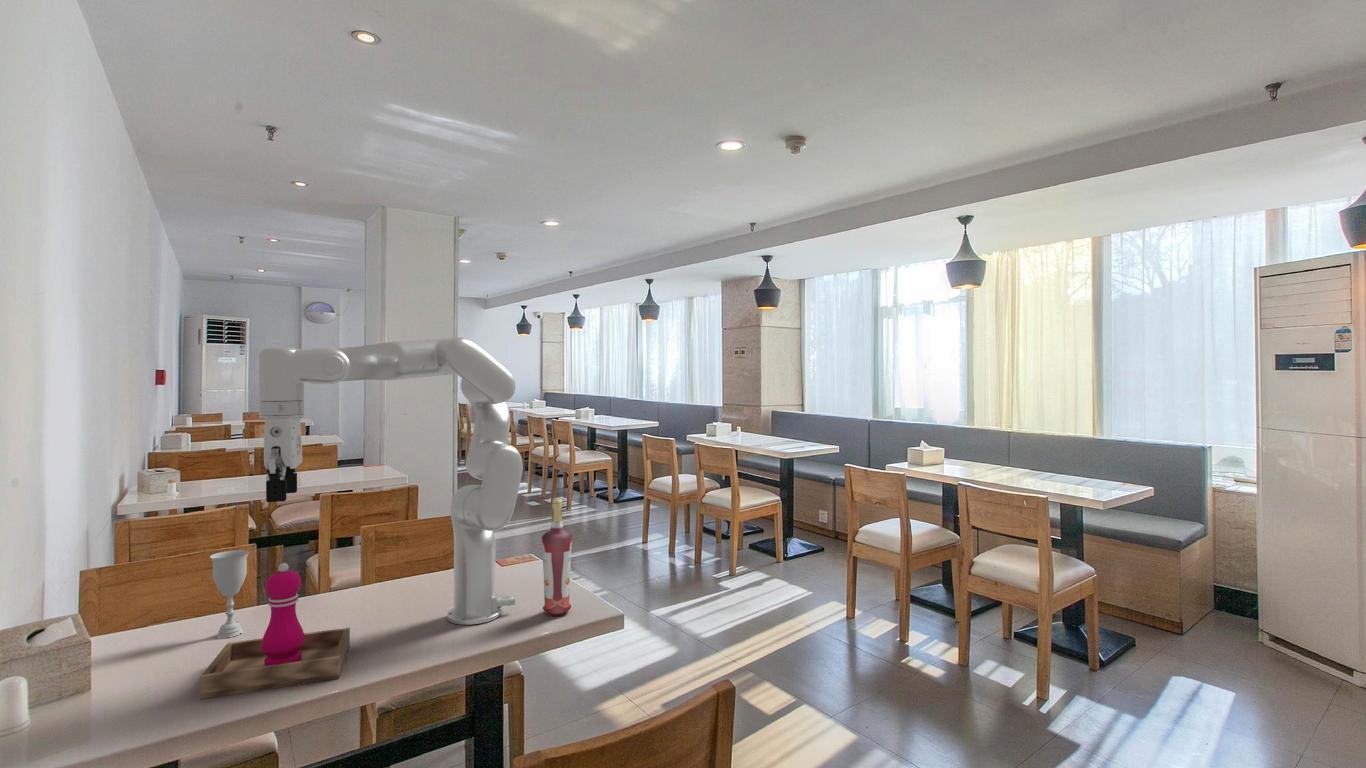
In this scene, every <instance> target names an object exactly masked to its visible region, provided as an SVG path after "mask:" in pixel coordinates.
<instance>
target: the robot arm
mask: <svg viewBox="0 0 1366 768" xmlns="http://www.w3.org/2000/svg"><path fill="white" fill-rule="evenodd" d="M449 375H458V377H460V378H461V380H460V390H461V392H462V394H463V396H464V398H465V399H466V400H467V401H468V402H469V404H470V405H471V408H472V410H473V413H474V425H473V429H472V430H473V431H472V435H471V439H470V444H469V446H468V447H469V448H468V453H467V456H466V462H465V470H466V471H467V473H468V474H469V475H470V476H471V477H472V478H474V479H477V480H480V481H481V485H479V484H468V485H465V486H462V487H461V488H459V489H457V491H456V492H455V493H454V494H453V496H452V498H451V501H450V502H451V503H450V518H451V524H452V530H453V608H451V609H450V610H449V611H447V613H446V617H447V618H446V619H447V620H448V622H450V623H452V624H455V625H463V626H464V625H465V626H466V625H467V626H469V625H470V626H471V625H472V626H473V625H478V624H479V625H480V624H485V623H488V622H491V621H493V620H495V619H497V618H499V617H500V616H501V615H502V612H503V607H504V606H515V605H516V598H515V596H511V597H509V595H503V596H499V595H497V592H496V591H497V590H496V536H495V534H496V533H495V532H497V531H499V530H501V529H504V527H506V525H507V524H509V522H510V520H511V519H512V516H513V514H514V511H515V509H516V505H517V504H516V503H517V499H518V495H519V490H520V485H521V481H522V478H523V471H524V470H523V468H524V465H523V458H522V456H521V453H520V451H519V450H518V449H517V448H516V447H515V446H513V445H511V444H508V440H509V435H510V429H511V413H510V412H511V411H510V408H509V406H508V403H507V402H508V401H509V400H511V399H512V398H513V396H514V394H515V391H516V382H515V378H514V376H513V375H512V373H511V372H510V371H509V370H508V369H507V368H506V367H505V366H503V365H502V364H501V363H500V362H498V361H497V360H496V359H495V358H494V357H493V356H491V355H490V354H489V353H488V352H487V351H485V350H484V349H483V348H481V346H479V345H478V344H477V343H475V342H474V341H472V340H470V339H468V338H466V337H449V338H435V339H433V338H431V339H418V340H417V339H415V340H399V341H397V340H396V341H394V340H393V341H385V342H380V343H379V342H378V343H374V344H373V343H372V344H367V345H361V346H348V347H347V346H346V347H345V346H344V347H326V346H325V347H318V348H297V347H282V346H279V347H277V346H272V347H271V346H270V347H269V346H268V347H263V348H262V349H260V351H259V352H258V419H264V428H263V430H264V433H263V435H264V436H263V462H264V463H263V464H264V468H265V469H266V477H265V478H266V479H265V480H266V482H265V488H266V489H265V497H266V498H265V501H266V502H267V503H278V502H283V503H284V502H286V501H287V494H295V493H297V491H298V472H297V470H298V468H297V467H298V466H300V465H301V464H302V463H303V443H302V442H303V441H302V429H301V428H302V426H301V419H300V418H305V383H308V384H312V385H335V384H338V383H340V382H350V381H351V382H352V381H369V380H370V381H397V380H406V379H416V378H425V377H426V378H429V377H439V376H449Z"/></svg>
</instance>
